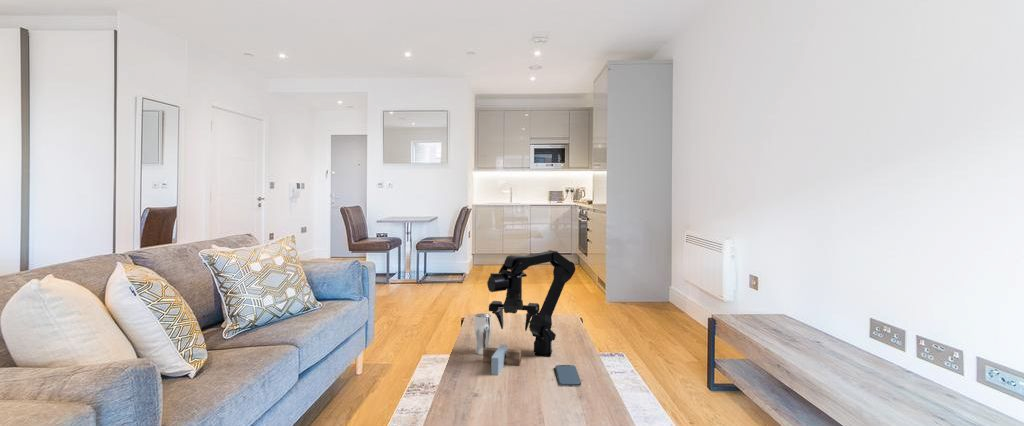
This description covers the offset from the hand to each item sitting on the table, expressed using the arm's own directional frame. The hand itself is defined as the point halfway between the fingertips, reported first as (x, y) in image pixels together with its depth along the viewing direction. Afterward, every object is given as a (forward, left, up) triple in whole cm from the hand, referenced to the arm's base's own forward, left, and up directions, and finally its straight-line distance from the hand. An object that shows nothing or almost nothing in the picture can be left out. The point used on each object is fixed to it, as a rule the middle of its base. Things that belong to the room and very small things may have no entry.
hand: (514, 329), depth 162 cm
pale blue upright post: (+4, +7, -12) cm, 14 cm away
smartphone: (-21, +10, -13) cm, 27 cm away
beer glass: (+14, -6, -12) cm, 20 cm away
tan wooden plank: (+4, +3, -12) cm, 13 cm away
